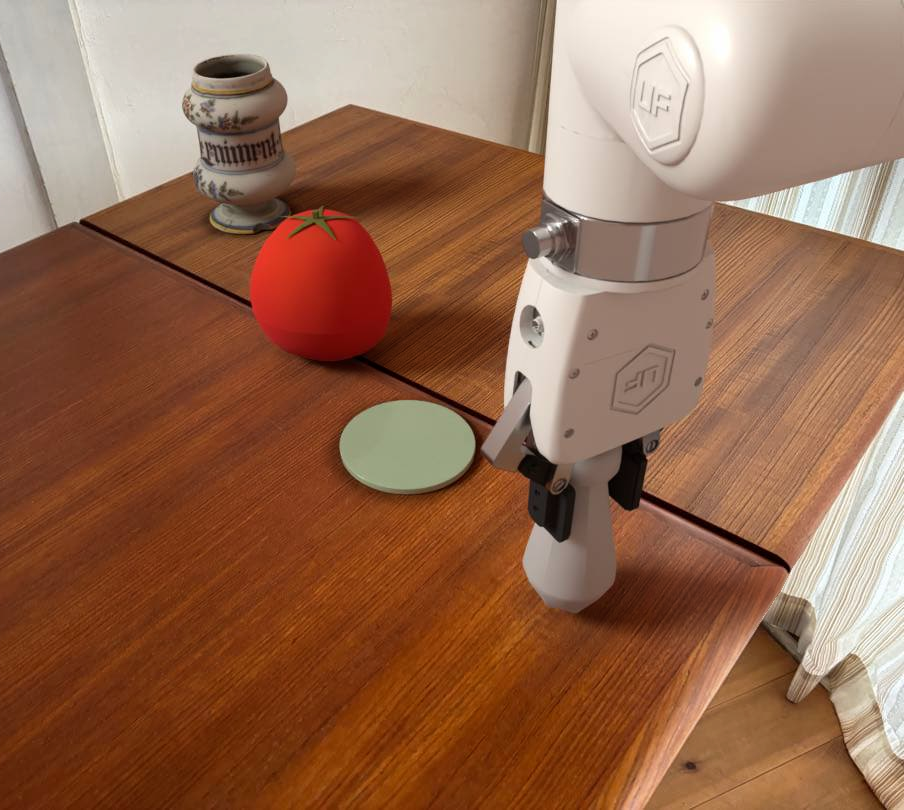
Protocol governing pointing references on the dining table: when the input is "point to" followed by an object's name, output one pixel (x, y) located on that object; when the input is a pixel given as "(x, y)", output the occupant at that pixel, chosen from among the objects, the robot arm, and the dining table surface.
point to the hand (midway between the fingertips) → (583, 508)
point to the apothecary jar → (240, 142)
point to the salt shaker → (578, 542)
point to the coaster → (407, 447)
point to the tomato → (321, 287)
